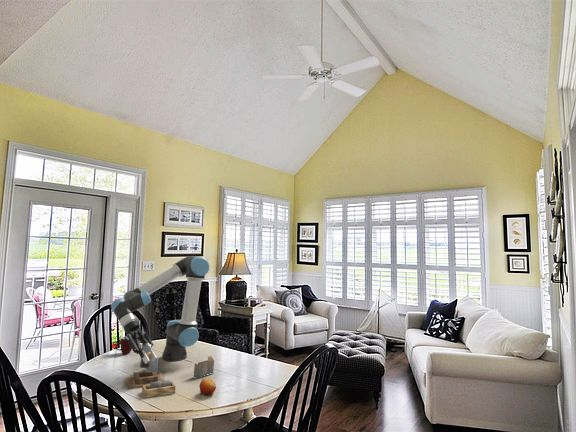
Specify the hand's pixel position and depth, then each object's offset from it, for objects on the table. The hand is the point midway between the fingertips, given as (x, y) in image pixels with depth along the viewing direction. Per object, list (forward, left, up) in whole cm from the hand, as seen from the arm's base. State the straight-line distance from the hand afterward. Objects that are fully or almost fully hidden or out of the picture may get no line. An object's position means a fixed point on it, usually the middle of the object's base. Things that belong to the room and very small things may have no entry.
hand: (151, 360), depth 182 cm
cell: (+2, -3, -3) cm, 5 cm away
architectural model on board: (-28, -1, -12) cm, 31 cm away
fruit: (-23, +24, -11) cm, 35 cm away
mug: (+8, -57, -11) cm, 59 cm away
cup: (-3, -18, -11) cm, 21 cm away
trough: (-2, +14, -11) cm, 18 cm away
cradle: (+2, -3, -11) cm, 12 cm away
